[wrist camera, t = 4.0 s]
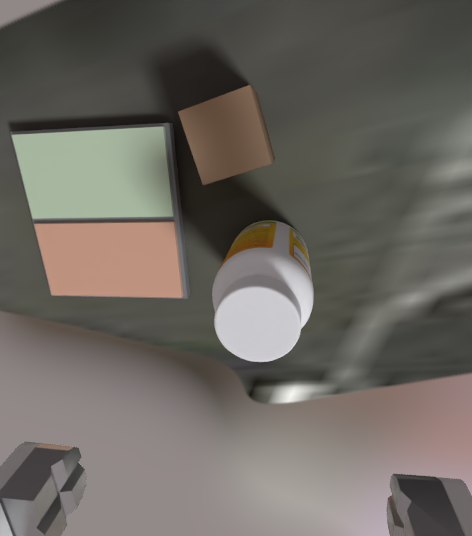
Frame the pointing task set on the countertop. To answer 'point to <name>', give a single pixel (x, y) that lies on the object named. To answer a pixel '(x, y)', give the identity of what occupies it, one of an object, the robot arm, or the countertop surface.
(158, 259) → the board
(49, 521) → the robot arm
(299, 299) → the supplement bottle
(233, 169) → the walnut block
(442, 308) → the countertop surface
